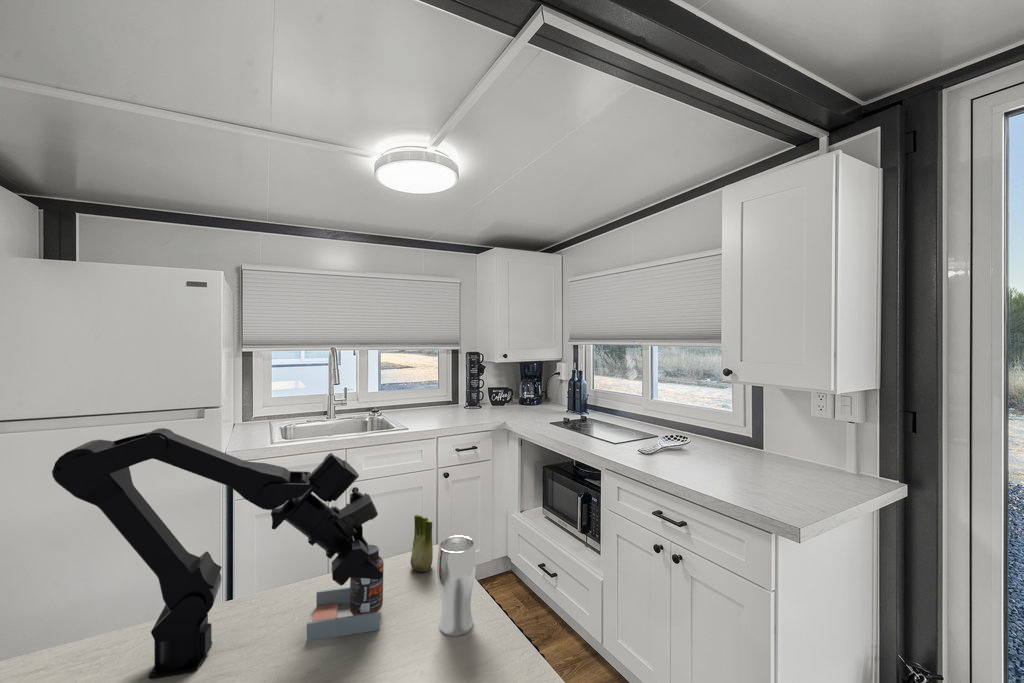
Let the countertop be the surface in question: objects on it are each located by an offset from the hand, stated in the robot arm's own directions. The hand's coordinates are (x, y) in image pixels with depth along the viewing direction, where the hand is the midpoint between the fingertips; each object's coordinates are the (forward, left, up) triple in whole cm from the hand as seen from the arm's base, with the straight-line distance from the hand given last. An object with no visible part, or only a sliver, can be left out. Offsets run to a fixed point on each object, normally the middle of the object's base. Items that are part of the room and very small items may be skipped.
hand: (379, 568), depth 83 cm
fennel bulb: (+9, +14, -9) cm, 18 cm away
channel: (-6, 0, -8) cm, 10 cm away
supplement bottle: (-2, 0, -7) cm, 8 cm away
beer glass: (+14, -7, -9) cm, 18 cm away
